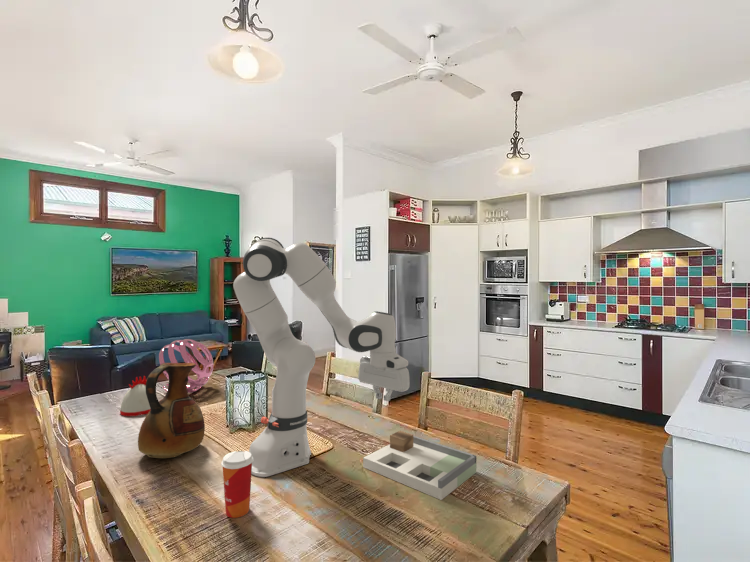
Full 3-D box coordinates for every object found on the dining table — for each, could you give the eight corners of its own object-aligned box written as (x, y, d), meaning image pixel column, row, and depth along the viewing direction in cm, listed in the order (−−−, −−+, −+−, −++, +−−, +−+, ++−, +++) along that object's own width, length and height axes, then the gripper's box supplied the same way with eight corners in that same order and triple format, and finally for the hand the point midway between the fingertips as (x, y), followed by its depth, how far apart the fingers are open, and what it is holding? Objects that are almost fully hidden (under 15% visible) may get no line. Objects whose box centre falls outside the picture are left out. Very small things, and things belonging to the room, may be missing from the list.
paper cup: (226, 503, 105) (226, 450, 105) (256, 502, 106) (256, 449, 105) (217, 521, 97) (216, 464, 97) (249, 520, 98) (249, 462, 98)
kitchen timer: (163, 409, 179) (162, 375, 179) (130, 418, 168) (130, 382, 168) (146, 403, 187) (145, 371, 187) (114, 412, 175) (113, 378, 175)
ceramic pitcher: (217, 445, 141) (216, 360, 140) (165, 470, 123) (165, 372, 122) (178, 436, 149) (177, 355, 149) (124, 458, 131) (123, 366, 130)
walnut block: (403, 452, 128) (403, 439, 128) (389, 447, 132) (389, 435, 132) (413, 446, 133) (413, 434, 133) (400, 442, 136) (400, 430, 136)
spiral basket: (131, 357, 197) (177, 325, 197) (168, 359, 224) (209, 332, 224) (153, 407, 189) (201, 375, 189) (189, 403, 216) (231, 375, 216)
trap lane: (441, 500, 107) (441, 481, 107) (363, 467, 125) (363, 451, 125) (476, 472, 122) (476, 455, 122) (402, 446, 140) (402, 432, 140)
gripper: (354, 356, 142) (354, 395, 142) (400, 365, 128) (400, 408, 128) (366, 353, 146) (366, 391, 147) (412, 361, 133) (412, 403, 133)
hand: (382, 399), depth 137 cm, fingers open, 2 cm apart
